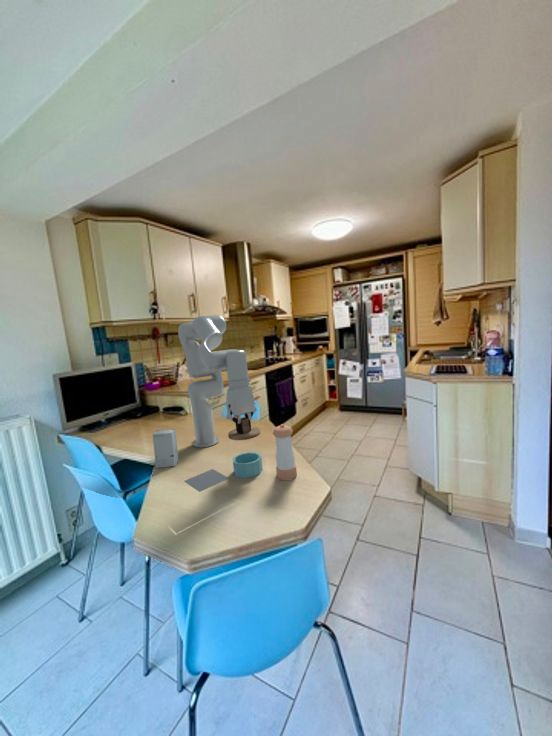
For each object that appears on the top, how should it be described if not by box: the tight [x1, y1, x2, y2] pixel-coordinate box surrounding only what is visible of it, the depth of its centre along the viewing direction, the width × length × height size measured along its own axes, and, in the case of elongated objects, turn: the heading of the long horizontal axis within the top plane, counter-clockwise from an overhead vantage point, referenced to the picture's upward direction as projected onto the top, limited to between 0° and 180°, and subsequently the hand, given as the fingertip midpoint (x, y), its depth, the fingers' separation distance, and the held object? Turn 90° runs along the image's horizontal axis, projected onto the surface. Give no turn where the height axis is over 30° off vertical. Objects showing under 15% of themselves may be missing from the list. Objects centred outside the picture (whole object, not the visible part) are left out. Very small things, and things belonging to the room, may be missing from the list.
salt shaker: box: [272, 423, 298, 481], centre depth 109 cm, size 7×7×19 cm
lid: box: [227, 416, 261, 441], centre depth 114 cm, size 12×12×6 cm
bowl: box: [232, 451, 264, 479], centre depth 116 cm, size 11×11×6 cm
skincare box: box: [152, 428, 179, 469], centre depth 129 cm, size 8×6×15 cm
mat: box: [184, 468, 230, 493], centre depth 112 cm, size 12×12×1 cm
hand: (244, 431), depth 114 cm, fingers closed on lid, 3 cm apart
